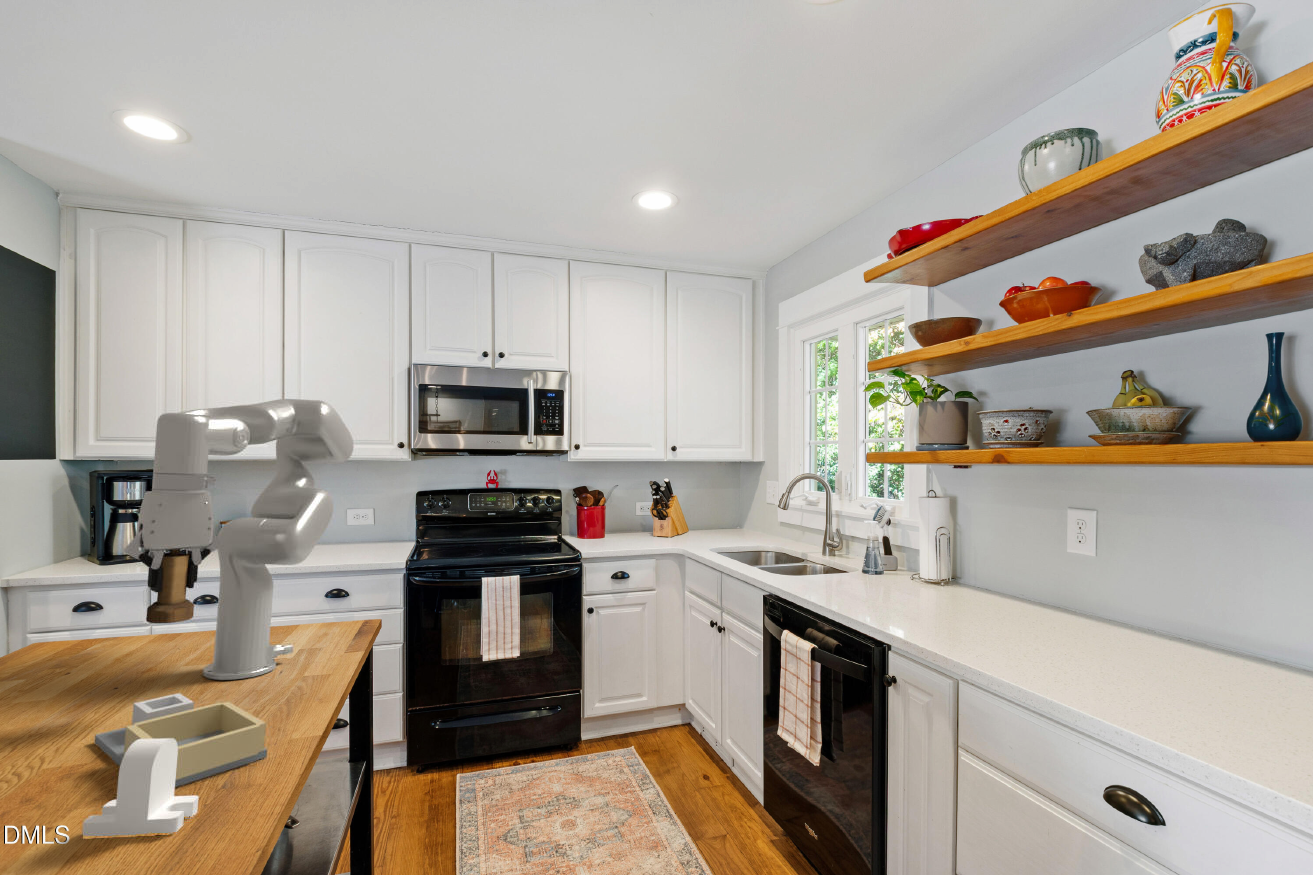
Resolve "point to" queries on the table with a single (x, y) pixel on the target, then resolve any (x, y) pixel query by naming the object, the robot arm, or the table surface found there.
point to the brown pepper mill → (172, 591)
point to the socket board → (192, 735)
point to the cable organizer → (144, 794)
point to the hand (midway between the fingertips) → (172, 587)
